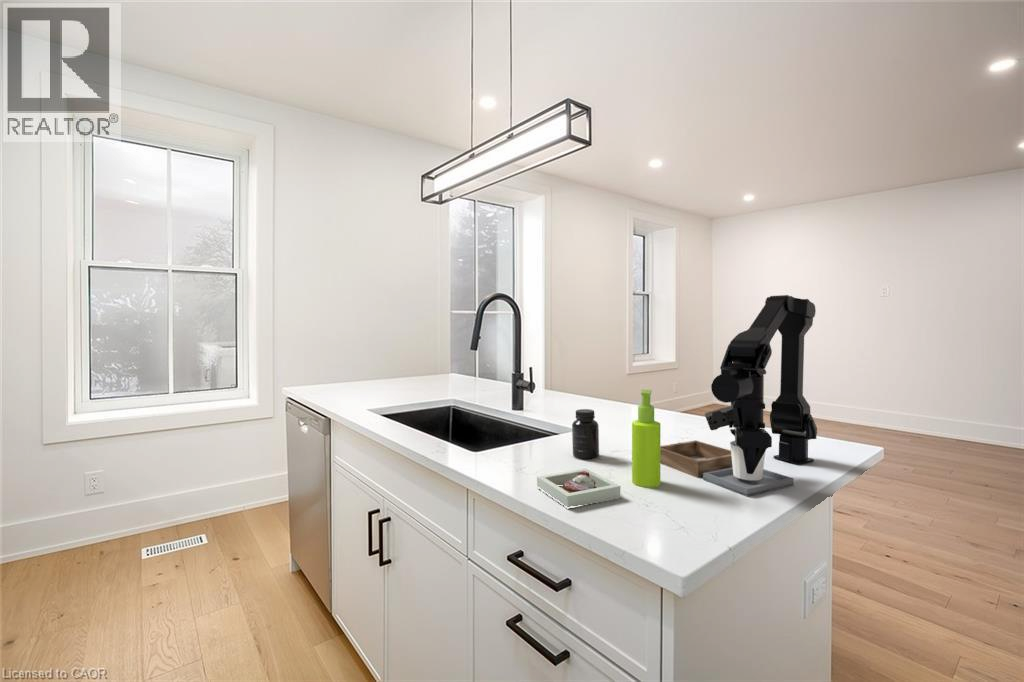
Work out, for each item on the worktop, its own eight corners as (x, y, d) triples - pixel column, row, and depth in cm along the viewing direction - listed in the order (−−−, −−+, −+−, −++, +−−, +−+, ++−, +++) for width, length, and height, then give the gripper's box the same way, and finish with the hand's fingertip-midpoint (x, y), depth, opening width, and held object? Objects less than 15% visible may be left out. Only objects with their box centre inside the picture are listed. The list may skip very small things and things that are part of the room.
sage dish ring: (585, 479, 103) (585, 468, 102) (620, 498, 91) (620, 485, 91) (537, 488, 97) (536, 476, 97) (567, 509, 86) (567, 496, 86)
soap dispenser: (660, 478, 103) (660, 388, 102) (660, 488, 96) (660, 393, 96) (633, 475, 105) (633, 387, 104) (631, 485, 98) (630, 392, 97)
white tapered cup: (770, 482, 95) (770, 448, 95) (734, 480, 97) (734, 447, 96) (759, 471, 102) (759, 440, 102) (726, 470, 104) (726, 439, 103)
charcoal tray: (747, 470, 107) (747, 464, 107) (793, 485, 97) (793, 478, 97) (703, 479, 102) (703, 472, 101) (747, 496, 92) (747, 489, 91)
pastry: (605, 493, 95) (605, 469, 95) (593, 506, 88) (593, 480, 88) (568, 487, 98) (568, 464, 98) (554, 499, 92) (554, 474, 92)
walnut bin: (695, 453, 121) (695, 440, 121) (742, 468, 109) (742, 453, 109) (654, 460, 116) (654, 446, 115) (697, 477, 103) (698, 462, 103)
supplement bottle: (580, 451, 125) (579, 407, 124) (603, 455, 121) (603, 409, 120) (567, 457, 119) (567, 411, 119) (591, 462, 115) (591, 414, 115)
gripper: (705, 389, 110) (705, 453, 111) (709, 402, 93) (709, 479, 93) (757, 390, 106) (757, 457, 107) (772, 405, 89) (771, 485, 90)
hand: (747, 468), depth 99 cm, fingers closed on white tapered cup, 6 cm apart
